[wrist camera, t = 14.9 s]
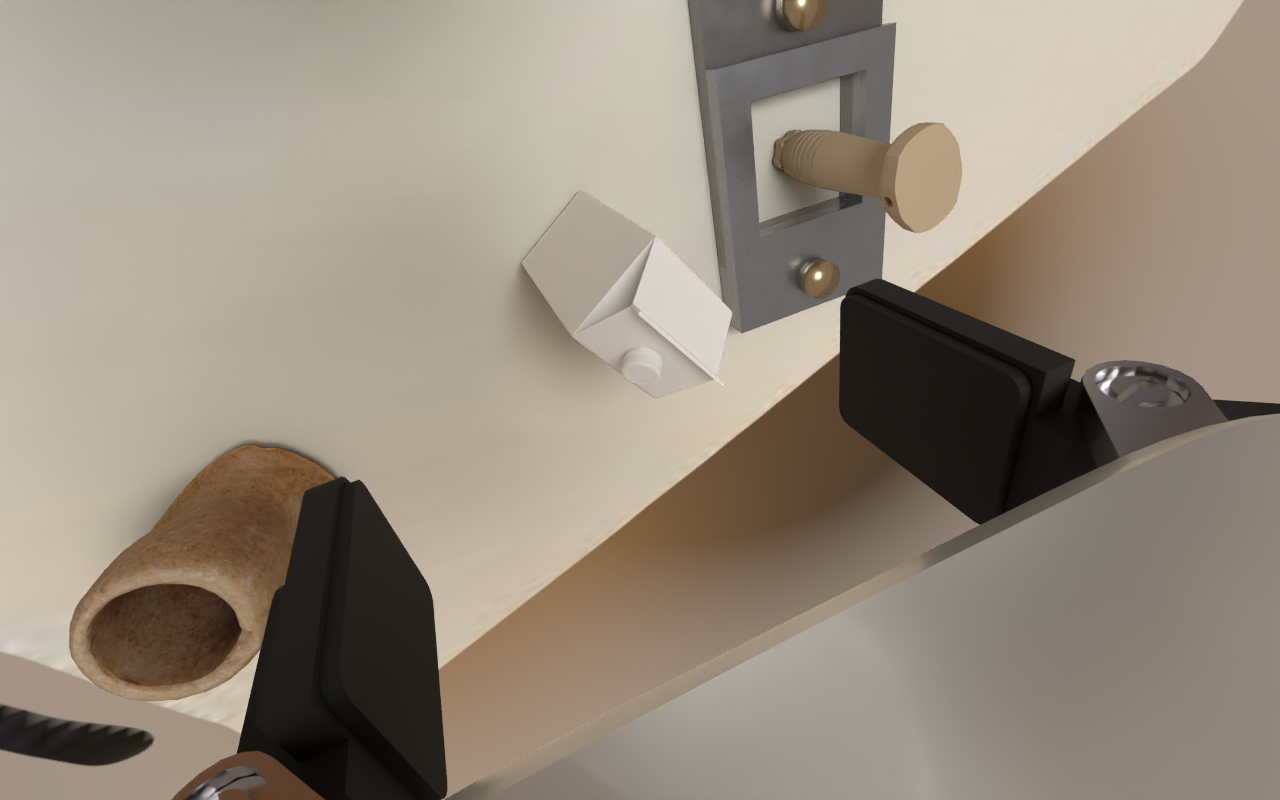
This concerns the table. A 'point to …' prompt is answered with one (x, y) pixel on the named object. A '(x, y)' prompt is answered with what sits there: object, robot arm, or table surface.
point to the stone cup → (196, 581)
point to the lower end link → (761, 24)
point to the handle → (881, 169)
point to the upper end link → (819, 241)
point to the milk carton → (629, 298)
